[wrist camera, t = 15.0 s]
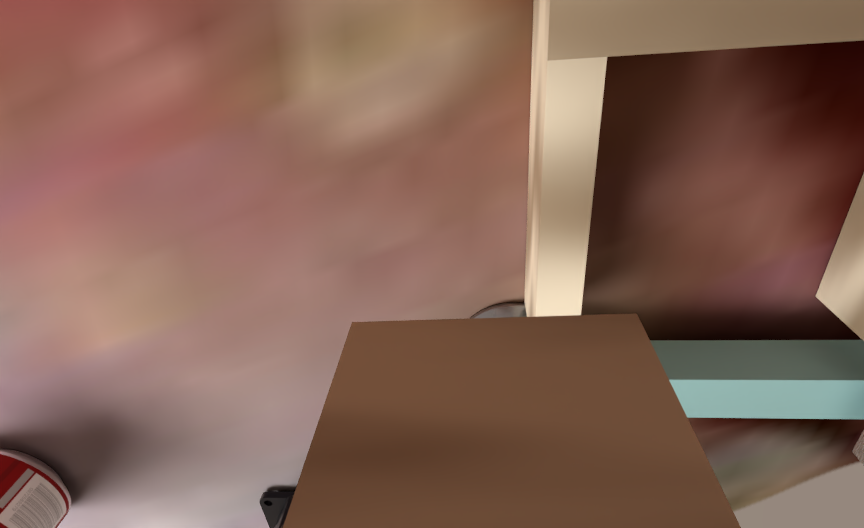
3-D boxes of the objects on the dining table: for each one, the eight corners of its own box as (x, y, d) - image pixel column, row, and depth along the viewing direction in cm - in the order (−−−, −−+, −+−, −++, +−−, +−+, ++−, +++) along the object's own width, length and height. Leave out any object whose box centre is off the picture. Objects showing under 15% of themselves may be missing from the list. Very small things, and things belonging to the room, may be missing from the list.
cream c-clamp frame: (855, 295, 19) (926, 354, 16) (524, 302, 21) (533, 357, 18) (1006, -46, 14) (1158, -53, 11) (534, -10, 15) (550, -6, 12)
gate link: (472, 388, 22) (472, 477, 18) (470, 326, 21) (471, 409, 17) (865, 391, 21) (958, 487, 17) (901, 323, 19) (1013, 414, 15)
